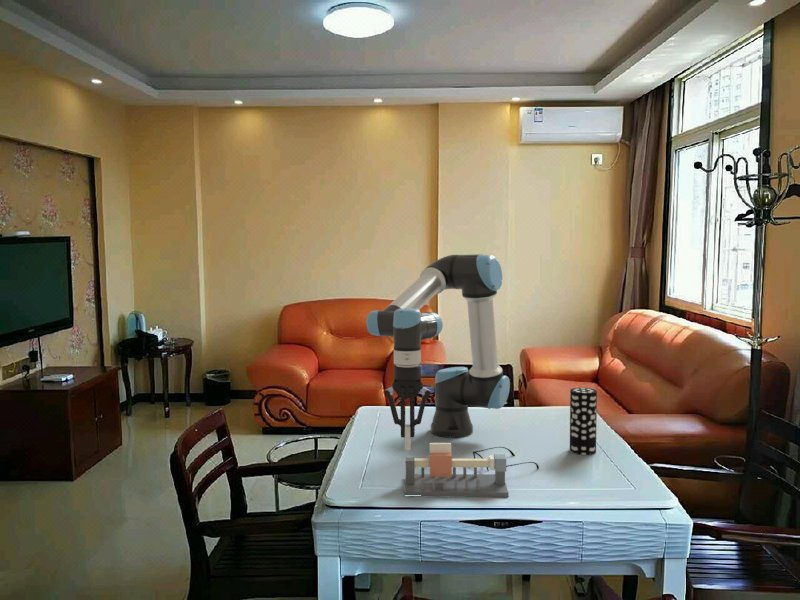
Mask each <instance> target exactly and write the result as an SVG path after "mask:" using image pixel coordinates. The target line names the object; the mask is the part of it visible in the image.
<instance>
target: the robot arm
mask: <svg viewBox="0 0 800 600" xmlns="http://www.w3.org/2000/svg"><path fill="white" fill-rule="evenodd" d="M502 284H503V271H502V267H501V264H500V262H499V260H498V259H497V258H496V257H495V256H493V255H492V254H491V255H490V254H488V255H487V254H482V253H480V254H479V253H478V254H449V255H446V256H443V257H441V258H439V259H437V260H435V261H433V262H431V263H430V264H429V265H428V266H427V267H425V268H424V269H423V270H422V271H421V272H420V275H419V277H418V278H417V279H416V280H415V281H414V282H413V283H412V284H410V285H409V286H408V288H406V289H405V290H404V291H403V292H402V293H400V295H398V296H397V297H396V298H395V299H394V300H393V301H391V303H390V304H389V305H387V306H386V307H385V308H384V309H383V310H379V309H378V310H371V311H369V313H368V314H367V317H366V321H365V323H366V328H367V332H368V333H369V334H370V335H372V336H377V337H386V338H387V337H390V338H393V364H394V366H393V382H392V384H391V386H390V387H388V388H386V389H385V388H384V395H385V396H386V397H387V399H388V404H389V407H390V411H391V416H392V419H393V423H394V425H398V426H399V427H400V437H401V438H404V451H411V438H415V427H416V426H417V425H421V424H422V423H421V422H422V419H423V415H424V411H425V407H426V403H427V400H428V398H429V396H430V395H431V390H430V388H426V387H425V386H424V385H423V382H422V366H421V365H420V364H421V363H422V347H421V345H422V341H424V340H430V339H433V338H436V336H439V335H440V334H441V332H442V330H443V325H444V324H443V321H442V318H441V316H440V315H439V314H438V313H436V312H433V311H425V312H421V309H422V308H423V307H424V306H425V305H426V304H427V303H428V302H429V301H430V300H431V299H432V298H433V297H434V296H435V295H437V294H438V295H440V293H443V291H445V290H446V291H447V290H461V294H462V295H461V296H462V298H463V299H464V300H466V301H467V312H468V326H469V327H468V328H469V336H470V349H471V350H470V351H471V361H472V362H471V363H472V366H471V368H470V369H468V367H467V366H466V367H465V366H454V367H453V366H451V367H447V368H443V369H442V368H441V369H439V370H437V372H436V373H435V378H434V379H435V382H434V384H435V386H434V391H435V392H434V393H435V394H434V395H435V396H434V397H435V411H434V415H433V418H432V422H431V424H430V433H431V434H433V435H434V436H438V437H444V438H462V437H467V436H470V435H472V434H473V433H474V432H473V430H474V427H473V423H472V421H471V420H472V419H471V417H470V413H469V406H470V407H477V408H483V409H488V410H490V409H493V410H499V409H501V408H503V407H504V406H505V404H506V403H507V400H508V398H509V394H510V388H511V382H510V381H511V380H510V378H509V377H508V376H507V375H504V374H503V373H504V371H503V368H502V367H501V366H500V365H499V364H498V363H499V362H498V353H497V352H498V350H497V340H496V339H497V338H496V323H495V322H496V321H495V311H494V310H495V309H494V298H495V297H496V295H497V294H498V292H497V291H498V290H500V289H501V287H502ZM394 392H395V393H396V395H397V396H398V397H399V399H400V400H399V401H400V418H399V415H398V411H397V407H396V403H395V399H394V396H393V395H394ZM420 392H421V396H422V397H421V401H420V405H419V408H418V413H417V417H416V418H415V399H416V397H417V396H418V395H419V393H420ZM406 399H409V424H406Z"/></svg>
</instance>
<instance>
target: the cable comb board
mask: <svg viewBox="0 0 800 600" xmlns="http://www.w3.org/2000/svg"><path fill="white" fill-rule="evenodd" d="M414 458H415V457H411V456H409V457H407V456H406V457H405V476H404V477H405V479H404V490H403V496H404V495H421V496H471V497H470V498H475V497H476V498H509V491H508V487H507V484H506V483H507V482H506V472H495V471H494V473H493V474H492V473H491V474H490V473H489V474H488V473H487V474H485V473H484V474H481V473H480V474H478V467H473V473H472V474H471V473H470V474H469V473H467V467H462V469H463V470H462V474H461V473H457V471H456V469H457V467H452V477H430V473H425V467H420V468H421V471H420V472H421V473H415V472H416V469H415V468H416V467H414ZM487 496H488V497H487ZM490 496H491V497H490Z"/></svg>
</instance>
